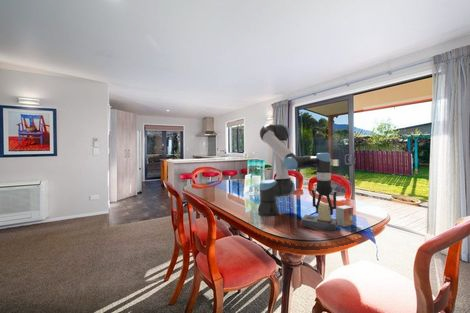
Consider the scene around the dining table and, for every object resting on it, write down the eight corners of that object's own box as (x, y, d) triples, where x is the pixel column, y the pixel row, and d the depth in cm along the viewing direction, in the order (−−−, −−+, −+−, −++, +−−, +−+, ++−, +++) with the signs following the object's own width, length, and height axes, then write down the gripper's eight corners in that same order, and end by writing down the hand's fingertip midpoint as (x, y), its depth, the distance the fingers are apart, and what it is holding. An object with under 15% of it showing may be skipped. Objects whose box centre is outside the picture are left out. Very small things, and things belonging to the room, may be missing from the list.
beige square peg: (319, 221, 118) (318, 204, 117) (320, 219, 122) (320, 202, 122) (328, 223, 115) (328, 205, 115) (329, 220, 119) (329, 203, 119)
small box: (343, 227, 117) (343, 209, 117) (335, 224, 122) (335, 206, 122) (353, 224, 120) (353, 207, 120) (345, 221, 126) (344, 204, 125)
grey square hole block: (301, 226, 121) (301, 219, 120) (305, 221, 129) (305, 214, 129) (335, 231, 111) (335, 224, 111) (337, 225, 120) (336, 218, 119)
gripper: (306, 179, 119) (306, 219, 120) (340, 181, 110) (341, 224, 110) (308, 178, 126) (309, 215, 126) (342, 179, 116) (342, 220, 117)
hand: (324, 219), depth 118 cm, fingers closed on beige square peg, 5 cm apart
